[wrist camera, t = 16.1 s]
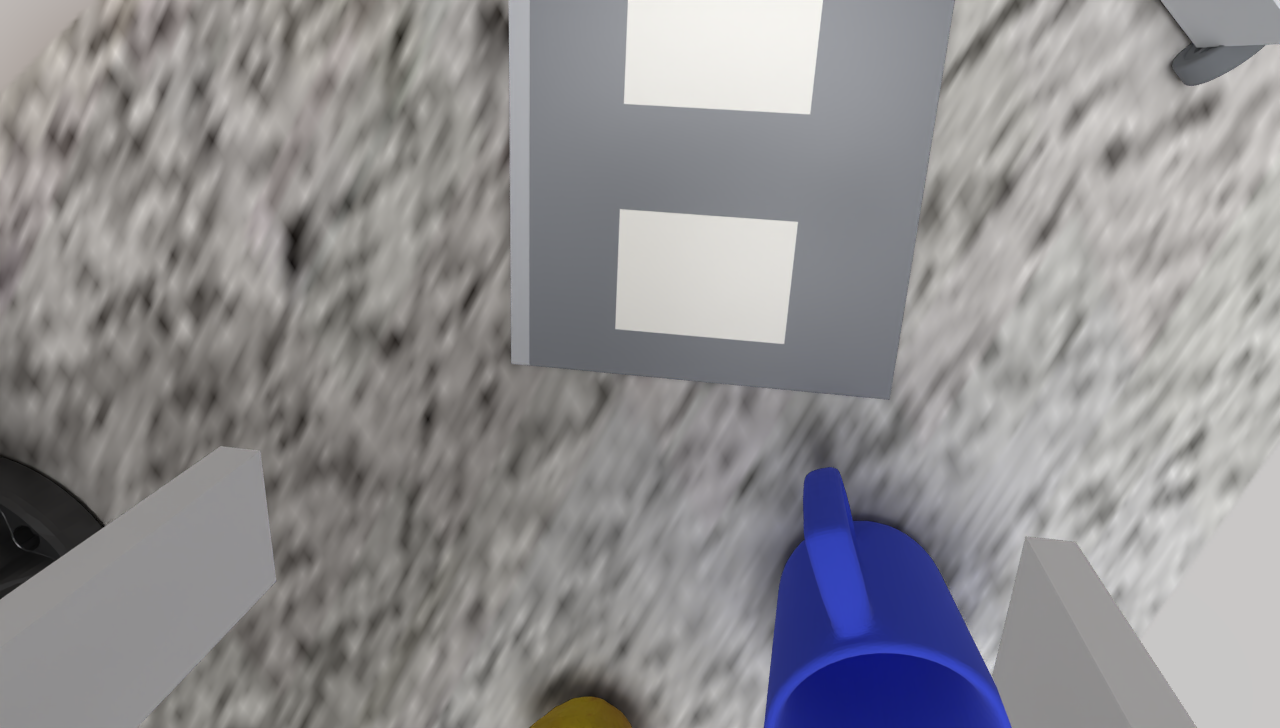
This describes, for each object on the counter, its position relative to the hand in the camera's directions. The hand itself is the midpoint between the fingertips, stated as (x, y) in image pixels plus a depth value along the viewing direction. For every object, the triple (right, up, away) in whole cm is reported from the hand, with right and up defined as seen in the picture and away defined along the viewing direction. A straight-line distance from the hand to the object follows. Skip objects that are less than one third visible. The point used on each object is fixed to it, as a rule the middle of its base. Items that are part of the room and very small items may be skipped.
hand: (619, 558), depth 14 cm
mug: (+10, -4, +23) cm, 25 cm away
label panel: (+3, +11, +18) cm, 21 cm away
